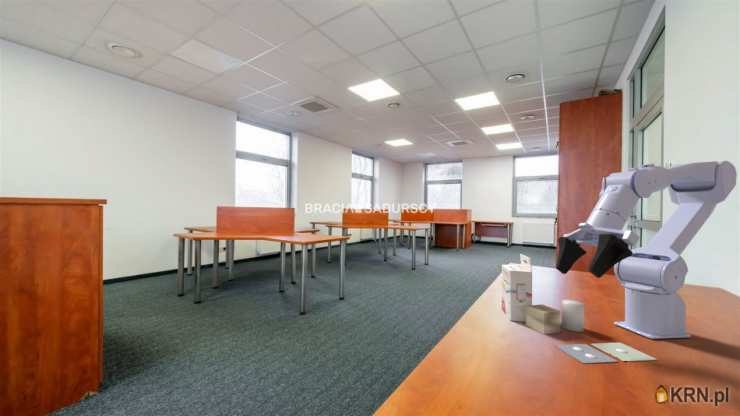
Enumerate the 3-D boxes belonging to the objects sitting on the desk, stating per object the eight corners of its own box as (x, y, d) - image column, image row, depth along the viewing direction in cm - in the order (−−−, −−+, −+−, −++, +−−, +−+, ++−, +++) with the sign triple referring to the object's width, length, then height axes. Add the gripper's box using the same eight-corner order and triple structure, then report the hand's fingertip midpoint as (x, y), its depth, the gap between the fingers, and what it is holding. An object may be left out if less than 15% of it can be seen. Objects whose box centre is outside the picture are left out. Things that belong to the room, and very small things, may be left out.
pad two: (585, 344, 55) (585, 343, 55) (617, 361, 48) (617, 360, 48) (554, 345, 54) (554, 344, 54) (583, 363, 48) (583, 362, 48)
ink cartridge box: (500, 309, 75) (500, 252, 75) (521, 310, 74) (521, 253, 74) (509, 321, 66) (510, 257, 66) (533, 323, 65) (533, 258, 66)
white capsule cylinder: (573, 324, 65) (573, 299, 65) (588, 331, 61) (588, 305, 61) (557, 324, 65) (557, 300, 65) (571, 331, 61) (571, 305, 61)
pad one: (620, 343, 56) (620, 342, 56) (657, 360, 49) (657, 358, 49) (590, 344, 55) (590, 343, 55) (623, 361, 48) (623, 360, 48)
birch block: (542, 324, 65) (542, 304, 65) (560, 332, 61) (560, 310, 61) (526, 326, 64) (526, 305, 64) (543, 334, 59) (543, 312, 59)
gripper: (563, 210, 65) (534, 258, 63) (629, 200, 51) (595, 261, 48) (586, 230, 66) (558, 278, 63) (659, 225, 51) (626, 287, 49)
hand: (576, 272), depth 56 cm, fingers open, 7 cm apart
